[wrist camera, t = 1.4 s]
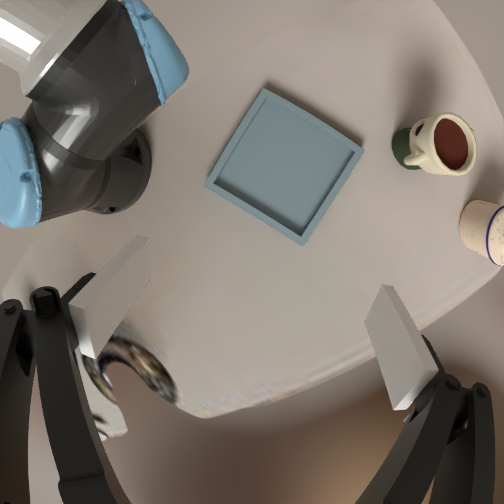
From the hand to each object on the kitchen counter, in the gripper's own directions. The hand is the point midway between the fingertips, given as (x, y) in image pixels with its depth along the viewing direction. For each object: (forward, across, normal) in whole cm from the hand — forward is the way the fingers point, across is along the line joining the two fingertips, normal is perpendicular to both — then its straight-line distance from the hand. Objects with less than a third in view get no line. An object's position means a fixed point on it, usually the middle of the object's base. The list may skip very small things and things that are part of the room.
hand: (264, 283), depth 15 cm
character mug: (+27, +19, +10) cm, 34 cm away
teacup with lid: (+25, +37, +4) cm, 45 cm away
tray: (+26, +1, +3) cm, 27 cm away
